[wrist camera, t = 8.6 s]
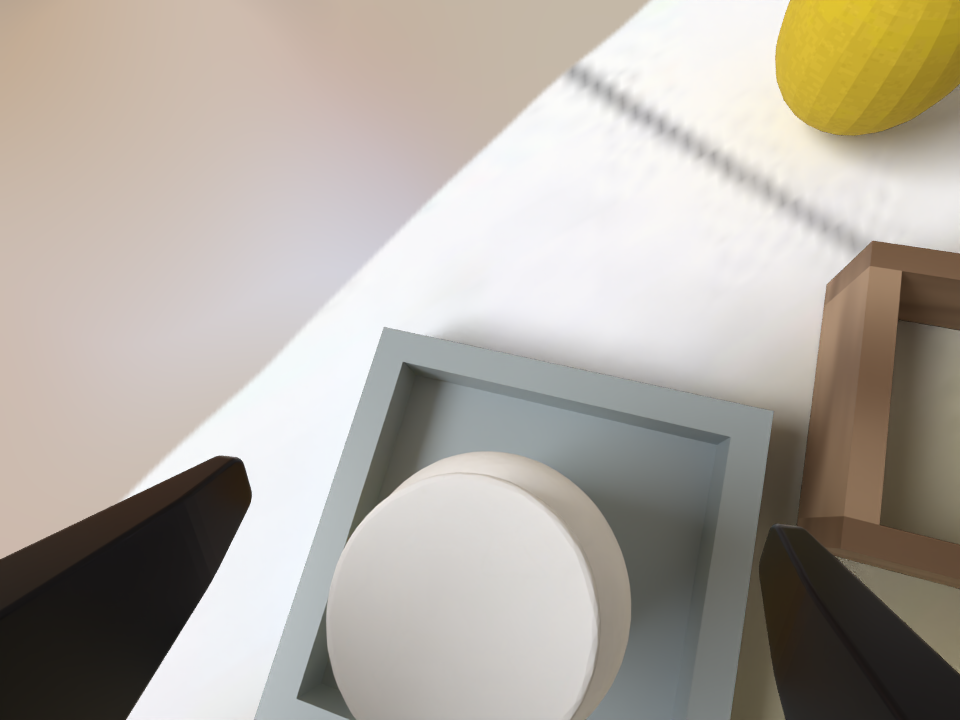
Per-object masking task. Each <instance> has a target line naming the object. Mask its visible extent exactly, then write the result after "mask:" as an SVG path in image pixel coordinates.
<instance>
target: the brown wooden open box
mask: <svg viewBox="0 0 960 720" xmlns="http://www.w3.org/2000/svg"><path fill="white" fill-rule="evenodd" d="M898 319H899V320H905V321H910V322H916V323H922V324H928V325H933V326H939V327H945V328H951V329H957V330H960V254H959V253H952V252H946V251H939V250H932V249H925V248H918V247H912V246H905V245H898V244H891V243H884V242H878V241H872V242H871V243H870V244H869V245H868V246H867V247H866V248H865V249H864V250H863V251H861V252H860V253H859V254H858V255H857V256H856V257H855V258H854V259H853V260H852V261H851V262H850V263H849V264H848V265H847V266H846V267H845V268H844V269H843V270H842V271H841V272H839V273H838V274H837V275H836V276H835V277H834V278H833V279H832V280H831V281H830V282H829V283H828V284H827V286H826V294H825V302H824V310H823V319H822V327H821V335H820V343H819V351H818V359H817V367H816V375H815V383H814V391H813V399H812V407H811V415H810V423H809V431H808V439H807V447H806V455H805V463H804V471H803V480H802V488H801V496H800V504H799V512H798V520H797V526H799V527H802V528H804V529H806V530H807V531H808V532H809V533H810V534H811V535H812V536H813V537H814V538H816V539H817V540H818V541H819V542H820V543H821V544H822V545H823V546H824V547H825V548H826V549H827V550H828V551H829V552H830V553H831V554H833V555H834V556H837V557H841V558H845V559H849V560H852V561H856V562H860V563H864V564H868V565H871V566H875V567H879V568H883V569H887V570H890V571H894V572H898V573H902V574H905V575H909V576H913V577H917V578H921V579H924V580H928V581H932V582H936V583H940V584H943V585H947V586H951V587H955V588H958V589H960V545H958V544H954V543H950V542H946V541H942V540H938V539H934V538H930V537H926V536H922V535H918V534H914V533H910V532H906V531H902V530H898V529H894V528H890V527H886V526H882V525H880V514H881V503H882V492H883V480H884V469H885V458H886V446H887V435H888V424H889V412H890V401H891V390H892V379H893V367H894V356H895V345H896V333H897V322H898Z"/></svg>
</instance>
